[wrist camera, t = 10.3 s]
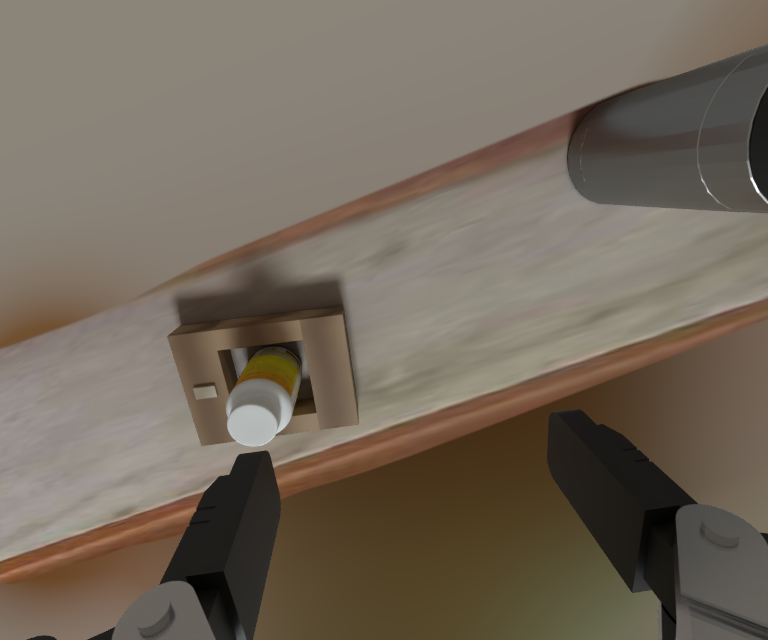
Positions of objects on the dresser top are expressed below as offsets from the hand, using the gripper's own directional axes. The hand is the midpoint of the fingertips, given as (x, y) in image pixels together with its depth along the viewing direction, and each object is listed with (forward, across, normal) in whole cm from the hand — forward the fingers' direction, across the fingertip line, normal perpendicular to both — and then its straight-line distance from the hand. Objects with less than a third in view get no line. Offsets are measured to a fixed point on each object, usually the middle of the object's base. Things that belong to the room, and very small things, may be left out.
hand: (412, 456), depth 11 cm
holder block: (+28, +11, +10) cm, 31 cm away
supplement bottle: (+28, +11, +10) cm, 32 cm away
